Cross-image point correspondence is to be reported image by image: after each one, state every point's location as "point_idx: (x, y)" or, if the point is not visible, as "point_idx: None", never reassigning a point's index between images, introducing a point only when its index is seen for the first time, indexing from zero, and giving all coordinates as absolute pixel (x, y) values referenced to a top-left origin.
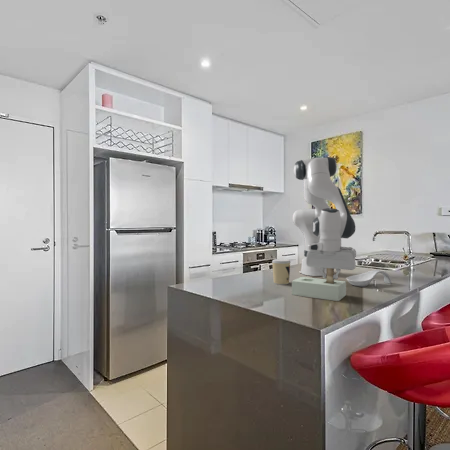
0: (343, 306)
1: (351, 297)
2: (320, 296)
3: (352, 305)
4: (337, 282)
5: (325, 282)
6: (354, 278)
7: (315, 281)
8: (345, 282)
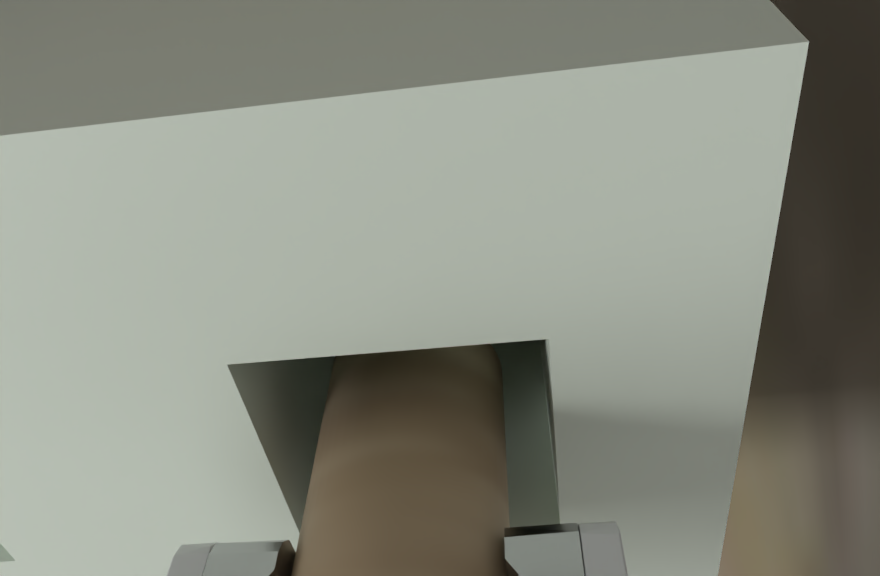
0: (758, 540)
1: (833, 47)
2: None
3: (867, 468)
4: (572, 368)
5: (264, 420)
6: None
7: (87, 529)
8: (785, 105)
